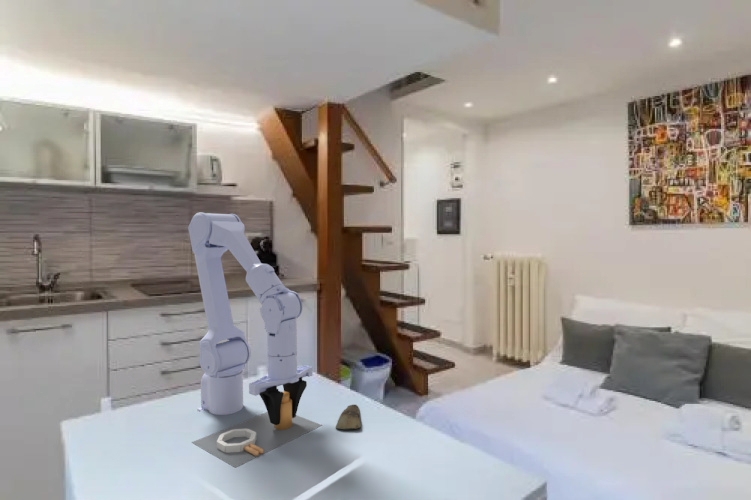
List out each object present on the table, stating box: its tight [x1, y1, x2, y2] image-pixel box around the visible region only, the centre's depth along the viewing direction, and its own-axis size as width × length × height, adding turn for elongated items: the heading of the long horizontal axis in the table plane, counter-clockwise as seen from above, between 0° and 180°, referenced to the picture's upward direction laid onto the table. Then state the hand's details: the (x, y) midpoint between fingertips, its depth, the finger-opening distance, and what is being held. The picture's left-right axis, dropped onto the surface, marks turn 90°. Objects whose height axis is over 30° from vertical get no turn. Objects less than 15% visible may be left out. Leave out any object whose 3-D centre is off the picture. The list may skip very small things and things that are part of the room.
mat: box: [191, 411, 323, 468], centre depth 84 cm, size 14×20×2 cm
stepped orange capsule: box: [274, 391, 292, 430], centre depth 87 cm, size 4×4×6 cm
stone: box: [335, 404, 362, 431], centre depth 91 cm, size 13×5×2 cm, turn 2°
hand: (283, 419), depth 87 cm, fingers closed on stepped orange capsule, 4 cm apart
